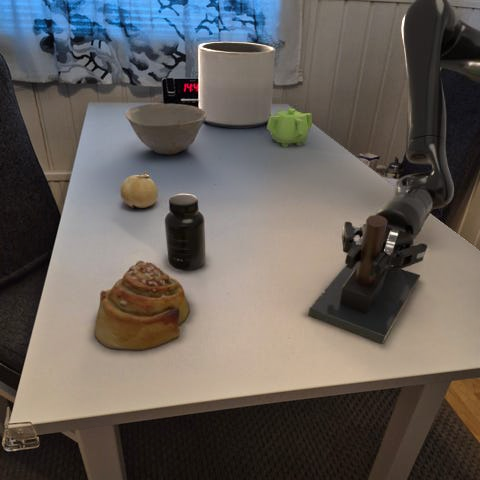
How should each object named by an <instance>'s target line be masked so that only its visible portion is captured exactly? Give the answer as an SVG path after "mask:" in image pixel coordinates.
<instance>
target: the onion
mask: <svg viewBox="0 0 480 480" xmlns="http://www.w3.org/2000/svg"><path fill="white" fill-rule="evenodd" d="M150 177H151V176H150V175H149V174H147V170H145V171H144V173H143V174H134V175H133V174H132V175H130V176H128V177H126V178H125V179H124V180H123V182H122V184H121V185H120V189H119V190H120V191H119V193H120V198H121V199H122V200H123V202H124V203H125V204H126V205H128V206H129V207H131V208H132V209H135V207H136V208H140V209H144V208H148V207H151V206H152V205H154V204H155V203H156V201H157V199H158V196H159V191H158V187H157V185H156V183H155V182H154V181H153V180H152V179H151V178H150Z"/></svg>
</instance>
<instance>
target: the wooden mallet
mask: <svg viewBox="0 0 480 480" xmlns="http://www.w3.org/2000/svg"><path fill="white" fill-rule="evenodd" d="M364 224H365V230H364V235H363V241H362V246H361V251H360V257H359V262H358V266H357V267H356V269H355V270H354V272H353V273H352V274H351V276H350V277H349V279H348V280H347V282H346V283H345V285H344V286H343V288H342V294H341V300H340V304H341V305H344V306H346V307H349V308H352V309H355V310H357V311H360V312H363V313H365V314H367V313H368V311H369V309H370V307H371V306H372V304H373V302H374V301H375V299H376V297H377V296H378V294H379V292H380V291H381V289H382V287H383V283H384V279H385V275H386V270H384V271H383V272H382V273H381V274H379V275H378V274H376V275H375V276H371V275H369V273H370V269H371V266H372V263H373V261H374V260H375V259H376V258H377V256H378V255H379V254H380V253H381V248H382V244H383V239H384V235H385V231H386V226H387V220H386V218H384V217H382V216H379V215H374V214H373V215H369V216H368V217H366V220H365V223H364Z"/></svg>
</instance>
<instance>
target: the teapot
mask: <svg viewBox="0 0 480 480" xmlns="http://www.w3.org/2000/svg"><path fill="white" fill-rule="evenodd" d="M311 128H313V114H312V113H310V112H308V113H307V112H306V113H302V112H301V111H298V110H296V109H295V108H292V107H291V108H287V110H282V109H278V110H277V112H276V113H275V115H271V116H269V120H268V121H267V125H266V130H268V131H269V132H270V136H271V138H273V139H274V142H276V143H281V146H282V147H284V148H285V147H289V144H295V145H296V146H302V145H303V144H302V143H303V142H305V141H306V140H307V139H308V136H309V130H310V129H311Z"/></svg>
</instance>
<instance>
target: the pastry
mask: <svg viewBox="0 0 480 480" xmlns="http://www.w3.org/2000/svg"><path fill="white" fill-rule="evenodd" d="M190 308H191V307H190V303H189V301H188V299H187V297H186V295H185V290H184V288H183V285H182V284H181V283H180V282H179V281H178V280H177V279H175V278H173V277H170V275H169V274H167V273H166V272H165V271H163V270H162V269H161V268H159V267H157V266H156V265H155V264H154V263H152V262H148V261H144V260H138V261H136V263H135V264H133V265H131V266H130V267H129V268H128V270H127V271H126V272H125V273H124V274H123V276H122V277H121V278H119V279H118V280H117V281H116V282H115V283H114V284H113V286H112V287H111V288H110V289H107V290H101V291H100V297H99V306H98V310H97V314H96V320H95V326H94V335H95V337H96V339H97V341H99V342H100V343H101V344H102V345H104V346H105V347H107V348H109V349H114V350H131V351H143V350H147V349H148V350H149V349H152V348H155V347H158V346H161V345H163V344H166V343H167V342H169V341H172V340H175V339H177V338H178V337H179V336H180V325H181V324H182V323H184V321H185V320H187V317H188V316H189V314H190Z"/></svg>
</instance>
